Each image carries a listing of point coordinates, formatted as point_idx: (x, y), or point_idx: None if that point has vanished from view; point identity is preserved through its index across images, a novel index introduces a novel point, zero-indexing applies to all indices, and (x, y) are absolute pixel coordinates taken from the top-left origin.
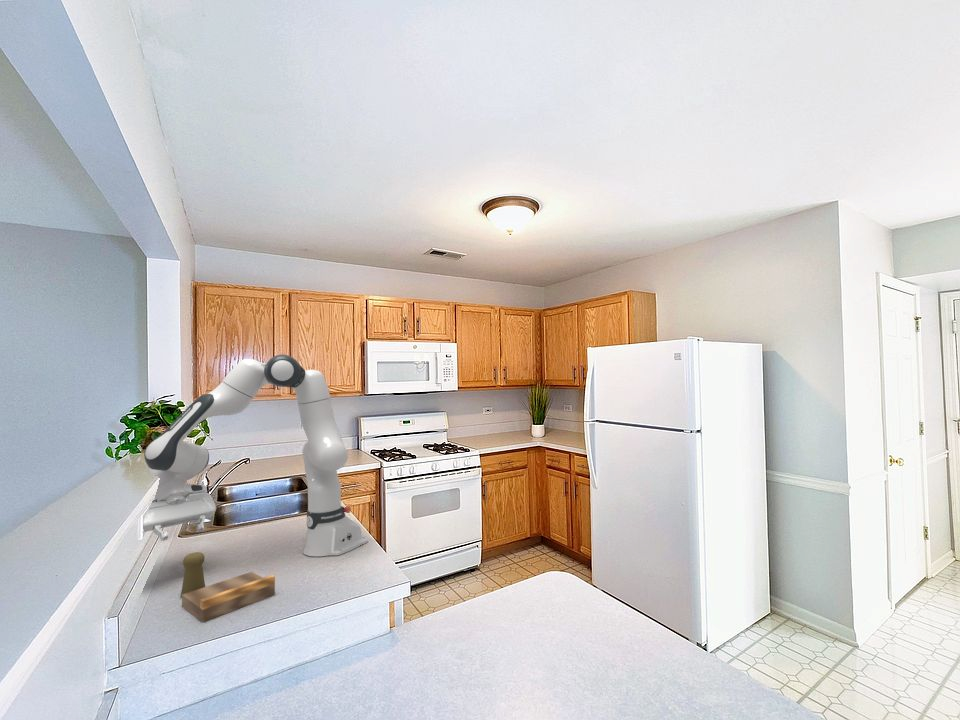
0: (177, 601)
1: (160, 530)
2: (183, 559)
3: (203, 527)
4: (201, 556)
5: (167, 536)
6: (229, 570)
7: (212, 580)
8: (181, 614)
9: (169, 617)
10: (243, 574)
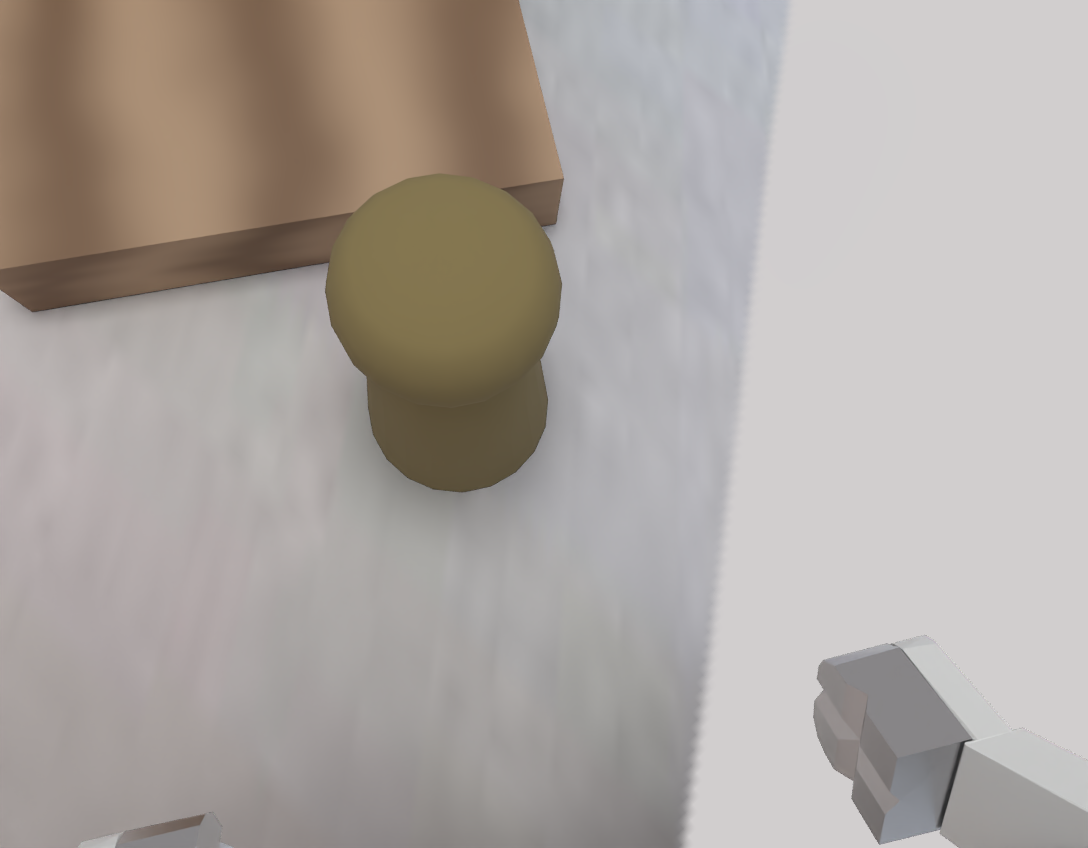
0: (573, 337)
1: (1065, 777)
2: (558, 274)
3: (92, 846)
4: (368, 200)
5: (838, 660)
6: (72, 786)
7: (274, 608)
8: (568, 103)
9: (634, 111)
10: (58, 259)
